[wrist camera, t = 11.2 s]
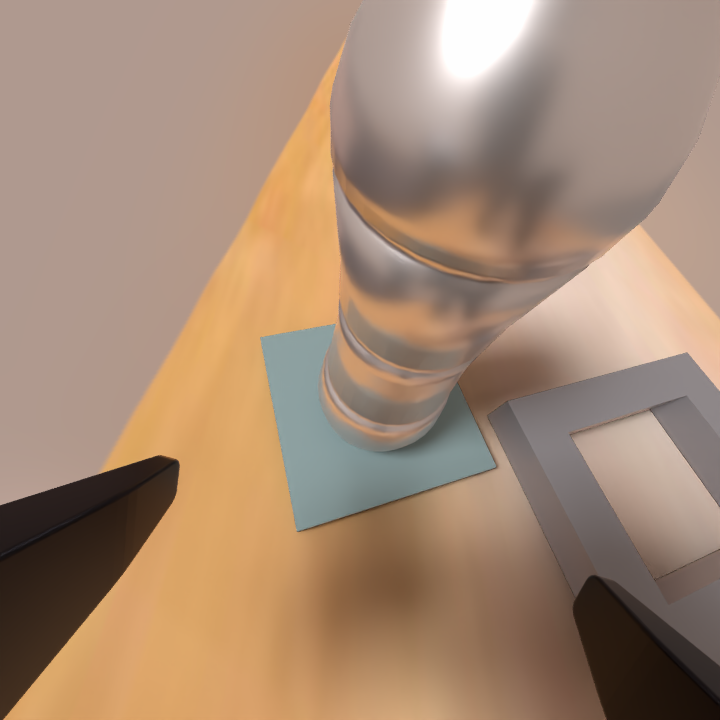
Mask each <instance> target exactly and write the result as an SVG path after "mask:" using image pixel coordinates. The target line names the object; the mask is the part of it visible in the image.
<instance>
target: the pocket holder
mask: <svg viewBox="0 0 720 720" xmlns="http://www.w3.org/2000/svg"><path fill="white" fill-rule="evenodd" d="M647 410H651V411H652V412H653V414H654V415H655V417H656V418H657V419H658V421H659V422H660V424H661V425H662V426H663V428H664V429H665V431H666V432H667V433H668V435H669V436H670V438H671V439H672V440H673V442H674V443H675V445H676V446H677V447H678V449H679V450H680V452H681V453H682V454H683V456H684V457H685V459H686V460H687V461H688V463H689V464H690V466H691V467H692V468H693V470H694V471H695V472H696V474H697V475H698V477H699V478H700V479H701V481H702V482H703V484H704V485H705V486H706V488H707V489H708V491H709V492H710V493H711V495H712V496H713V498H714V499H715V500H716V502H717V503H718V505H719V506H720V391H719V390H718V389H717V388H716V387H715V385H714V384H713V383H712V382H711V381H710V379H709V378H708V377H707V376H706V375H705V373H704V372H703V371H702V370H701V369H700V367H699V366H698V365H697V364H696V362H695V361H694V360H693V359H692V358H691V356H690V355H689V354H688V353H683V354H680V355H676V356H672V357H669V358H665V359H661V360H658V361H654V362H650V363H646V364H643V365H639V366H635V367H632V368H628V369H624V370H621V371H617V372H613V373H609V374H606V375H602V376H598V377H595V378H591V379H587V380H584V381H580V382H576V383H573V384H569V385H565V386H561V387H558V388H554V389H550V390H547V391H543V392H539V393H536V394H532V395H528V396H524V397H521V398H517V399H513V400H510V401H507V402H506V403H504V404H503V405H501V406H500V407H499V408H497V409H496V410H494V411H493V412H492V413H490V414H489V415H487V416H488V418H489V420H490V422H491V424H492V427H493V429H494V431H495V433H496V435H497V437H498V439H499V441H500V443H501V445H502V447H503V449H504V451H505V453H506V455H507V458H508V460H509V462H510V464H511V466H512V468H513V470H514V472H515V474H516V476H517V478H518V480H519V482H520V484H521V487H522V489H523V491H524V493H525V495H526V497H527V499H528V501H529V503H530V505H531V507H532V509H533V511H534V513H535V516H536V518H537V520H538V522H539V524H540V526H541V528H542V530H543V532H544V534H545V536H546V538H547V540H548V542H549V545H550V547H551V549H552V551H553V553H554V555H555V557H556V559H557V561H558V563H559V565H560V567H561V569H562V571H563V574H564V576H565V578H566V580H567V582H568V584H569V586H570V588H571V590H572V592H573V594H574V596H575V598H576V596H577V595H578V593H579V591H580V589H581V588H582V586H583V584H584V582H585V581H586V579H587V578H588V577H589V576H590V575H599V576H602V577H606V578H609V579H612V580H614V581H616V582H617V583H618V584H620V585H621V586H622V587H623V588H624V589H626V590H627V591H628V592H629V593H631V594H632V595H633V596H634V597H636V598H637V599H638V600H639V601H641V602H642V603H643V604H644V605H645V606H647V607H648V608H649V609H650V610H652V611H653V612H654V613H655V614H657V615H658V616H659V617H660V618H661V619H663V620H664V621H665V622H666V623H668V624H669V625H670V626H671V627H673V628H674V629H675V630H676V631H678V632H679V633H680V634H681V635H682V636H684V637H685V638H686V639H687V640H689V641H690V642H691V643H692V644H694V645H695V646H696V647H697V648H698V649H700V650H701V651H702V652H703V653H705V654H706V655H707V656H708V657H710V658H711V659H712V660H713V661H715V662H716V663H717V664H718V665H719V666H720V549H719V550H717V551H715V552H713V553H711V554H709V555H707V556H705V557H703V558H701V559H699V560H697V561H695V562H693V563H690V564H688V565H686V566H684V567H682V568H680V569H678V570H676V571H674V572H672V573H670V574H668V575H666V576H664V577H661V578H659V579H657V580H655V581H654V579H653V577H652V576H651V574H650V572H649V570H648V569H647V567H646V565H645V564H644V562H643V560H642V558H641V557H640V555H639V553H638V551H637V550H636V548H635V546H634V545H633V543H632V541H631V539H630V538H629V536H628V534H627V533H626V531H625V529H624V527H623V526H622V524H621V522H620V521H619V519H618V517H617V515H616V514H615V512H614V510H613V509H612V507H611V505H610V503H609V502H608V500H607V498H606V496H605V495H604V493H603V491H602V490H601V488H600V486H599V484H598V483H597V481H596V479H595V478H594V476H593V474H592V472H591V471H590V469H589V467H588V466H587V464H586V462H585V460H584V459H583V457H582V455H581V453H580V452H579V450H578V448H577V447H576V445H575V443H574V441H573V440H572V438H571V436H570V435H571V434H574V433H577V432H580V431H583V430H586V429H590V428H593V427H596V426H599V425H602V424H605V423H609V422H612V421H615V420H618V419H621V418H624V417H628V416H631V415H634V414H637V413H640V412H643V411H647Z"/></svg>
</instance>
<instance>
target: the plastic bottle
mask: <svg viewBox="0 0 720 720" xmlns="http://www.w3.org/2000/svg"><path fill="white" fill-rule="evenodd" d="M719 77H720V0H363V1H362V3H361V5H360V7H359V9H358V11H357V12H356V14H355V16H354V18H353V20H352V22H351V24H350V27H349V31H348V34H347V38H346V41H345V45H344V48H343V52H342V55H341V59H340V62H339V66H338V69H337V73H336V76H335V80H334V83H333V88H332V94H331V101H330V120H331V157H332V163H333V181H334V192H335V204H336V215H337V227H338V238H339V250H340V286H339V297H340V298H339V314H338V318H337V322H336V326H335V330H334V334H333V338H332V342H331V344H330V346H329V348H328V350H327V352H326V354H325V357H324V360H323V364H322V367H321V370H320V373H319V378H318V395H319V401H320V404H321V407H322V410H323V412H324V414H325V417H326V419H327V420H328V422H329V424H330V426H331V427H332V429H333V430H334V431H335V432H336V433H337V434H338V435H339V437H341V438H342V439H344V440H345V441H346V442H348V443H349V444H351V445H353V446H355V447H357V448H360V449H363V450H368V451H375V452H385V451H390V450H395V449H398V448H402V447H404V446H407V445H409V444H412V443H414V442H416V441H417V440H418V439H420V438H421V437H423V436H424V435H425V434H426V433H427V432H428V431H429V430H430V429H431V428H432V427H433V426H434V424H435V422H436V421H437V419H438V417H439V416H440V414H441V412H442V410H443V409H444V407H445V405H446V403H447V400H448V397H449V394H450V392H451V390H452V389H453V387H454V386H455V384H456V383H457V382H458V380H459V379H460V377H461V376H462V374H463V373H464V371H465V370H466V368H467V367H468V366H469V365H470V364H471V363H472V362H473V361H474V360H475V359H476V358H477V357H478V356H479V355H480V354H481V353H482V352H483V351H484V350H485V349H486V348H487V347H488V346H489V345H490V344H491V343H492V342H493V341H494V340H496V339H497V338H498V337H499V336H500V335H501V334H502V333H503V332H504V331H505V330H506V329H507V328H508V327H509V326H511V325H512V324H513V323H515V322H516V321H517V320H519V319H520V318H521V317H523V316H524V315H525V314H527V313H528V312H529V311H530V310H532V309H533V308H534V307H536V306H537V305H538V304H540V303H541V302H542V301H544V300H545V299H546V298H548V297H549V296H550V295H551V294H553V293H554V292H555V291H557V290H558V289H559V288H561V287H562V286H563V285H565V284H566V283H567V282H569V281H570V280H571V279H572V278H574V277H575V276H576V275H578V274H579V273H580V272H582V271H583V270H584V269H586V268H587V267H588V265H589V264H590V263H592V262H593V261H595V260H597V259H599V258H600V257H602V256H603V255H604V254H605V253H606V252H607V251H609V250H610V249H611V248H612V247H613V246H614V245H615V244H616V243H618V242H619V241H620V240H621V239H622V238H623V237H624V236H625V235H627V234H628V233H629V232H630V231H631V230H632V229H634V228H635V227H636V226H637V225H638V224H639V223H641V222H642V221H643V220H644V219H645V218H646V217H647V216H648V215H649V214H650V213H651V212H652V210H653V209H654V208H655V207H656V206H657V205H658V204H659V202H660V201H661V199H662V197H663V196H664V194H665V193H666V191H667V189H668V188H669V186H670V185H671V183H672V181H673V180H674V178H675V177H676V175H677V173H678V172H679V170H680V169H681V167H682V165H683V164H684V162H685V161H686V159H687V157H688V156H689V154H690V153H691V151H692V149H693V148H694V146H695V145H696V143H697V141H698V139H699V136H700V133H701V131H702V128H703V125H704V122H705V119H706V116H707V113H708V110H709V107H710V104H711V101H712V98H713V95H714V92H715V89H716V86H717V83H718V80H719Z"/></svg>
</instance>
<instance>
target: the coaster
mask: <svg viewBox="0 0 720 720" xmlns="http://www.w3.org/2000/svg"><path fill="white" fill-rule="evenodd" d="M335 326H336V324H333V325H327V326H321V327H316V328H310V329H305V330H299V331H293V332H288V333H282V334H277V335H271V336H265V337H260V339H261V344H262V349H263V355H264V360H265V365H266V371H267V376H268V381H269V386H270V392H271V397H272V402H273V408H274V413H275V418H276V423H277V429H278V434H279V439H280V444H281V450H282V455H283V460H284V466H285V471H286V476H287V481H288V487H289V492H290V497H291V503H292V508H293V513H294V518H295V524H296V529H297V532H299V531H303V530H306V529H309V528H312V527H315V526H318V525H321V524H324V523H327V522H330V521H333V520H336V519H340V518H343V517H346V516H349V515H352V514H355V513H358V512H361V511H364V510H367V509H370V508H373V507H377V506H380V505H383V504H386V503H389V502H392V501H395V500H398V499H401V498H404V497H407V496H411V495H414V494H417V493H420V492H423V491H426V490H429V489H432V488H435V487H438V486H441V485H444V484H448V483H451V482H454V481H457V480H460V479H463V478H466V477H469V476H472V475H475V474H478V473H482V472H485V471H488V470H490V469H493V468H495V467H496V465H495V463H494V460H493V458H492V456H491V454H490V452H489V450H488V447H487V445H486V443H485V441H484V439H483V437H482V434H481V432H480V430H479V428H478V426H477V424H476V422H475V419H474V417H473V415H472V413H471V411H470V409H469V406H468V404H467V402H466V400H465V398H464V396H463V393H462V391H461V389H460V387H459V385H458V383H456V384H455V386H454V387H453V389H452V390H451V392H450V394H449V397H448V400H447V403H446V405H445V407H444V409H443V410H442V412H441V414H440V416H439V417H438V419H437V421H436V422H435V424H434V426H433V427H432V428H431V429H430V430H429V431H428V432H427V433H426V434H425V435H424V436H423V437H421V438H420V439H418V440H417V441H416V442H414V443H412V444H409V445H407V446H404V447H402V448H398V449H395V450H390V451H385V452H375V451H368V450H363V449H360V448H357V447H355V446H353V445H351V444H349V443H348V442H346V441H345V440H344V439H342V438H341V437H339V435H338V434H337V433H336V432H335V431H334V430H333V429H332V427H331V426H330V424H329V422H328V420H327V419H326V417H325V414H324V412H323V410H322V407H321V404H320V401H319V395H318V378H319V373H320V370H321V367H322V364H323V360H324V357H325V354H326V352H327V350H328V348H329V346H330V344H331V342H332V338H333V334H334V330H335Z"/></svg>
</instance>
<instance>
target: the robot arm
mask: <svg viewBox="0 0 720 720" xmlns="http://www.w3.org/2000/svg"><path fill="white" fill-rule="evenodd" d="M179 468H180V464H179V461H178V460H177V459H173V458H170V457H166V456H162V455H158V456H155V457H152V458H148V459H145V460H142V461H139V462H136V463H133V464H129V465H126V466H123V467H120V468H117V469H114V470H110V471H107V472H104V473H101V474H98V475H95V476H92V477H88V478H85V479H82V480H79V481H76V482H73V483H70V484H66V485H63V486H60V487H57V488H54V489H50V490H48V491H45V492H41V493H38V494H35V495H32V496H28V497H25V498H22V499H19V500H16V501H13V502H9V503H6V504H3V505H0V720H3V719H4V718H5V717H6V716H7V714H8V713H9V712H10V711H11V710H12V708H13V707H14V706H15V705H16V703H17V702H18V701H19V700H20V699H21V697H22V696H23V695H24V694H25V693H26V691H27V690H28V689H29V688H30V687H31V685H32V684H33V683H34V682H35V680H36V679H37V678H38V677H39V676H40V674H41V673H42V672H43V671H44V670H45V668H46V667H47V666H48V665H49V664H50V662H51V661H52V660H53V659H54V657H55V656H56V655H57V654H58V653H59V651H60V650H61V649H62V648H63V647H64V645H65V644H66V643H67V642H68V641H69V639H70V638H71V637H72V636H73V634H74V633H75V632H76V631H77V630H78V628H79V627H80V626H81V625H82V624H83V622H84V621H85V620H86V619H87V617H88V616H89V615H90V614H91V613H92V611H93V610H94V609H95V608H96V607H97V605H98V604H99V603H100V602H101V601H102V599H103V598H104V597H105V596H106V594H107V593H108V592H109V591H110V590H111V588H112V587H113V586H114V585H115V583H116V582H117V581H118V580H119V578H120V577H121V576H122V575H123V573H124V572H125V571H126V569H127V568H128V566H129V565H130V564H131V562H132V561H133V559H134V558H135V556H136V555H137V553H138V552H139V551H140V549H141V548H142V546H143V545H144V543H145V542H146V540H147V539H148V537H149V536H150V535H151V533H152V532H153V530H154V529H155V527H156V526H157V524H158V523H159V521H160V520H161V519H162V517H163V516H164V514H165V513H166V511H167V510H168V508H169V507H170V505H171V504H172V502H173V500H174V498H175V496H176V492H177V485H178V476H179ZM573 615H574V619H575V622H576V625H577V628H578V632H579V635H580V638H581V641H582V645H583V648H584V651H585V654H586V658H587V661H588V664H589V667H590V671H591V674H592V677H593V680H594V683H595V687H596V690H597V693H598V696H599V699H600V702H601V705H602V708H603V711H604V714H605V717H606V719H607V720H720V666H719V665H718V664H717V663H716V662H715V661H713V660H712V659H711V658H710V657H708V656H707V655H706V654H705V653H703V652H702V651H701V650H700V649H698V648H697V647H696V646H695V645H694V644H692V643H691V642H690V641H689V640H687V639H686V638H685V637H684V636H682V635H681V634H680V633H679V632H678V631H676V630H675V629H674V628H673V627H671V626H670V625H669V624H668V623H666V622H665V621H664V620H663V619H661V618H660V617H659V616H658V615H657V614H655V613H654V612H653V611H652V610H650V609H649V608H648V607H647V606H645V605H644V604H643V603H642V602H641V601H639V600H638V599H637V598H636V597H634V596H633V595H632V594H631V593H629V592H628V591H627V590H626V589H624V588H623V587H622V586H621V585H620V584H618V583H617V582H616V581H614V580H612V579H609V578H606V577H602V576H599V575H590V576H589V577H588V578H587V579H586V581H585V582H584V584H583V586H582V588H581V589H580V591H579V593H578V595H577V596H576V598H575V600H574V602H573Z"/></svg>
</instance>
